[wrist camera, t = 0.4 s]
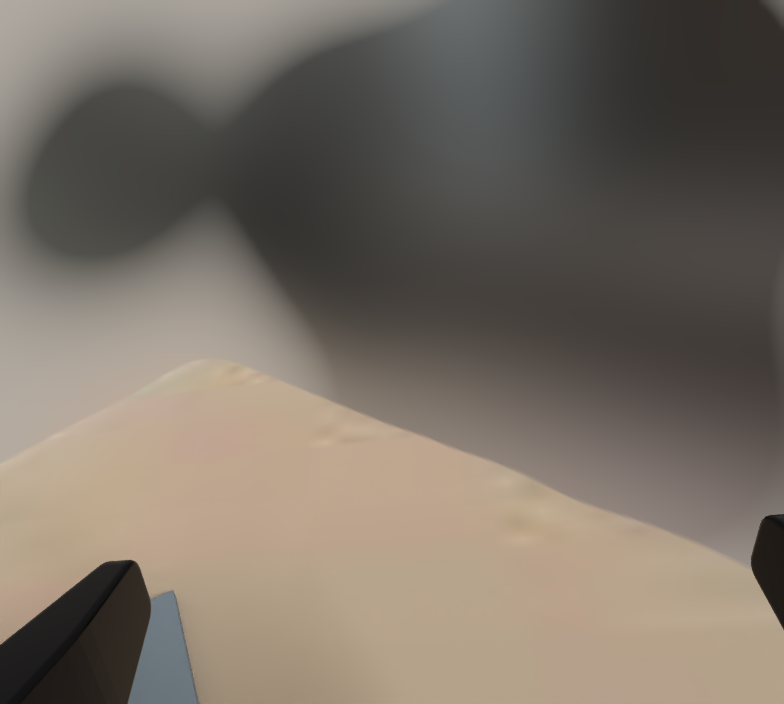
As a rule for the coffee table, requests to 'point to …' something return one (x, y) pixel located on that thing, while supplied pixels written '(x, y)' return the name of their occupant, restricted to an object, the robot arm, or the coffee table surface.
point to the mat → (164, 659)
